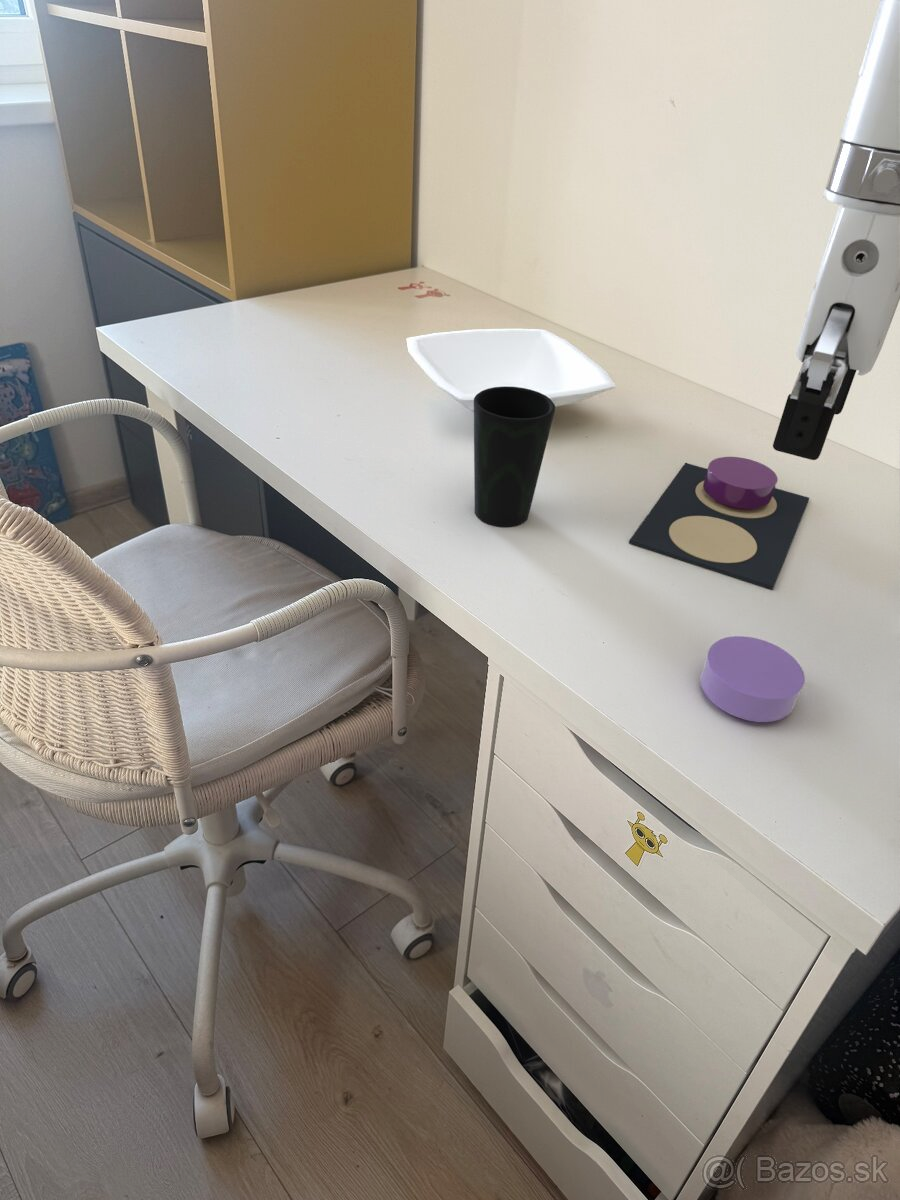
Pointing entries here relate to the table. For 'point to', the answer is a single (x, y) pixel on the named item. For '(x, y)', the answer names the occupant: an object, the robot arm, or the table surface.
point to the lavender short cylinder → (751, 678)
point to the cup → (508, 452)
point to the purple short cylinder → (740, 483)
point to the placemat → (721, 530)
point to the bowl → (508, 364)
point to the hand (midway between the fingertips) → (808, 430)
